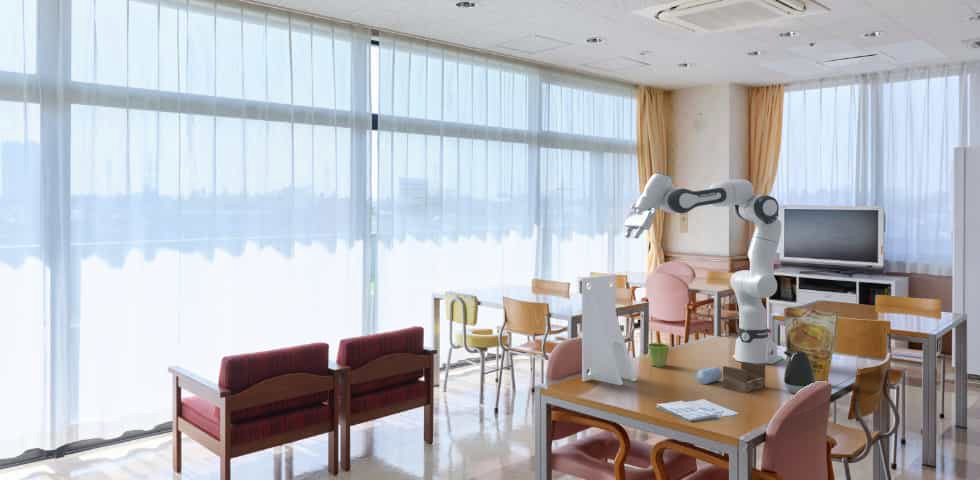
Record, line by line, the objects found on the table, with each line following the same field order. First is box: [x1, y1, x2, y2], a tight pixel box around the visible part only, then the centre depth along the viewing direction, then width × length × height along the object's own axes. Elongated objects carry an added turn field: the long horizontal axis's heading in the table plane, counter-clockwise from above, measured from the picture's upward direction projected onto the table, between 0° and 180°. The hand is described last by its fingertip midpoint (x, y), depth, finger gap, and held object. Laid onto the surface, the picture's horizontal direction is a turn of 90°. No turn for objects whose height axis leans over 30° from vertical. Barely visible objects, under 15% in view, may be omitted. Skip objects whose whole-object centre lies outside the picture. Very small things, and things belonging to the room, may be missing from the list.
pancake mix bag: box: [783, 306, 839, 383], centre depth 269 cm, size 7×19×28 cm, turn 42°
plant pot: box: [647, 342, 671, 368], centre depth 301 cm, size 9×9×9 cm
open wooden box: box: [722, 361, 766, 393], centre depth 263 cm, size 14×9×8 cm, turn 130°
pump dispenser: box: [783, 350, 815, 395], centre depth 254 cm, size 10×10×15 cm
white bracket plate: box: [581, 273, 637, 386], centre depth 276 cm, size 20×14×40 cm
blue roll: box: [695, 366, 723, 385], centre depth 271 cm, size 9×5×5 cm, turn 130°
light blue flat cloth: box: [655, 398, 740, 423], centre depth 232 cm, size 19×20×2 cm
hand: (631, 237), depth 297 cm, fingers open, 8 cm apart
